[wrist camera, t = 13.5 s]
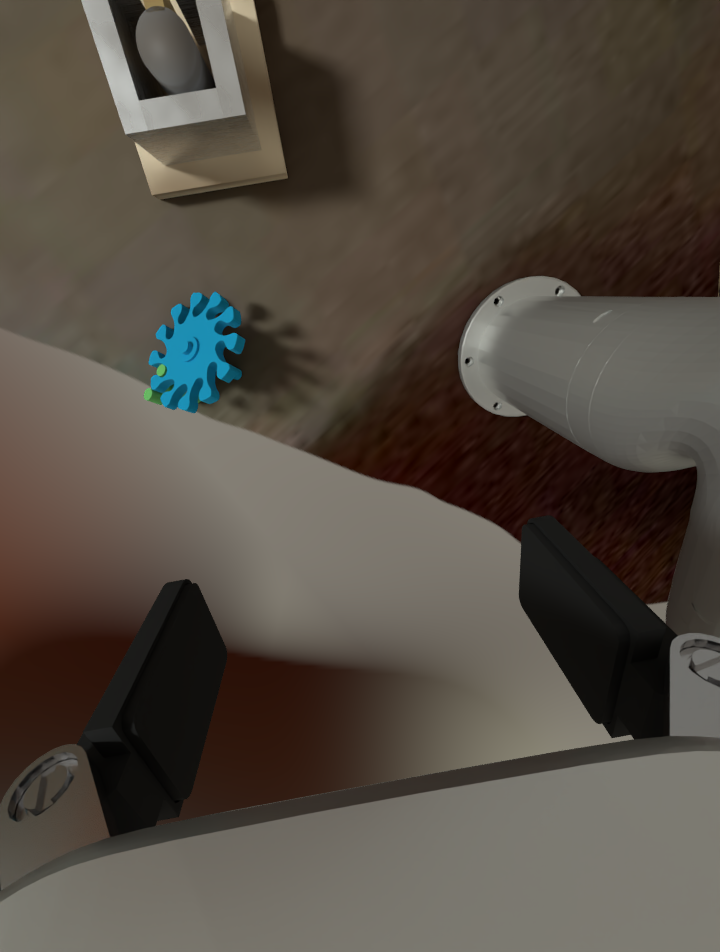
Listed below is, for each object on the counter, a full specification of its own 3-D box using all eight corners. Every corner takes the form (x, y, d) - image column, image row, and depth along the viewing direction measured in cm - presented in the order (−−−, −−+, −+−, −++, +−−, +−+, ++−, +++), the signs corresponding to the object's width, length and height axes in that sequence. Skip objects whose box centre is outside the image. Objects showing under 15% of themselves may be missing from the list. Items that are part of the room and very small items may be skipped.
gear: (209, 260, 30) (247, 356, 26) (260, 302, 35) (297, 386, 32) (124, 345, 33) (148, 439, 30) (181, 371, 38) (207, 453, 35)
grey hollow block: (261, 150, 27) (245, 114, 22) (165, 166, 27) (125, 134, 22) (232, 11, 24) (205, -71, 19) (123, 28, 24) (65, -49, 19)
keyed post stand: (287, 178, 29) (277, 146, 23) (160, 199, 29) (114, 173, 23) (252, -10, 25) (227, -113, 18) (101, 14, 25) (24, -81, 18)
